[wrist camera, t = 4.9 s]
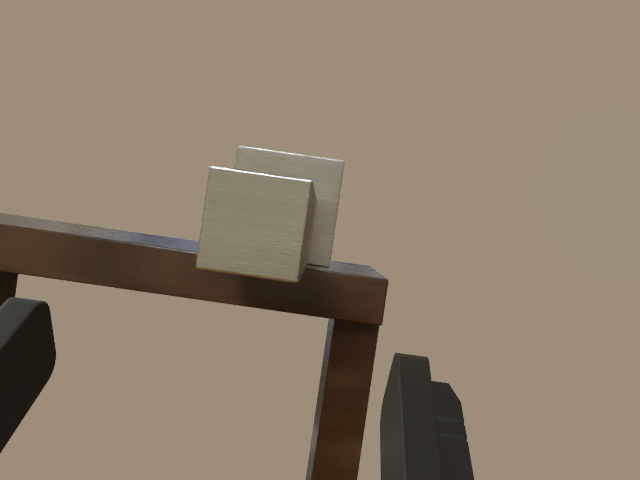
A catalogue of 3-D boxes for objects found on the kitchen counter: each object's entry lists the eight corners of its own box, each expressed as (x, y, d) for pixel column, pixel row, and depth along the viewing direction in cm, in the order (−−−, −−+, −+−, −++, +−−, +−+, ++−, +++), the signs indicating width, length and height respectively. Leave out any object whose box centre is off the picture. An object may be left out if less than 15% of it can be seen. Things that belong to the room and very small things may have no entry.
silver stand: (328, 261, 33) (341, 172, 33) (332, 288, 17) (357, 115, 17) (239, 248, 33) (252, 159, 33) (160, 264, 17) (184, 90, 17)
